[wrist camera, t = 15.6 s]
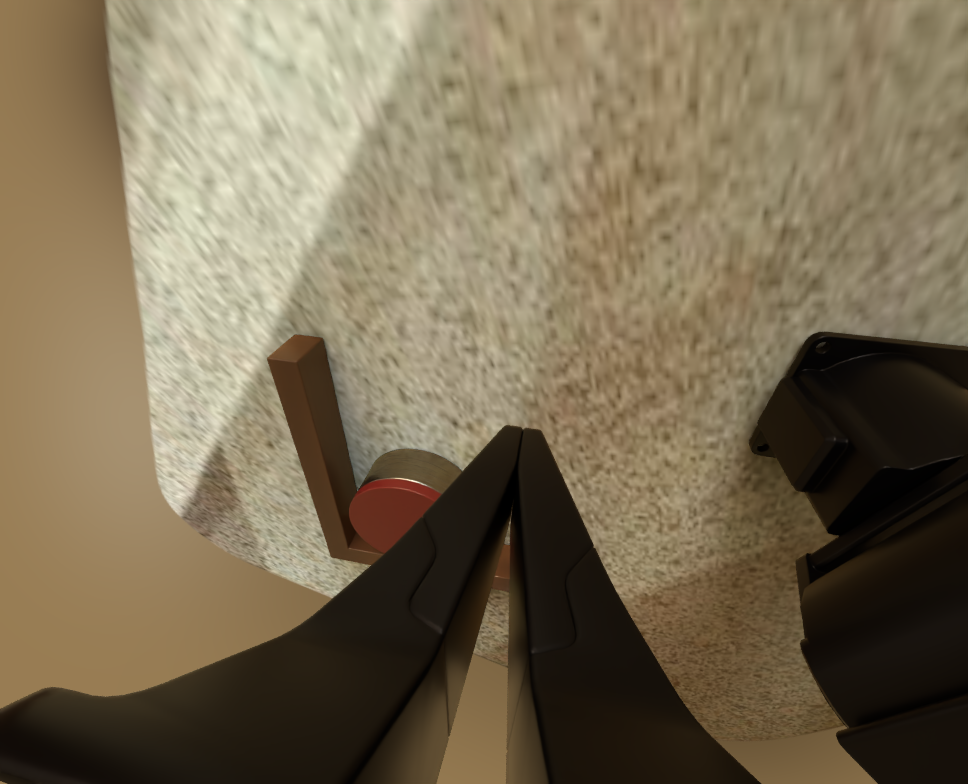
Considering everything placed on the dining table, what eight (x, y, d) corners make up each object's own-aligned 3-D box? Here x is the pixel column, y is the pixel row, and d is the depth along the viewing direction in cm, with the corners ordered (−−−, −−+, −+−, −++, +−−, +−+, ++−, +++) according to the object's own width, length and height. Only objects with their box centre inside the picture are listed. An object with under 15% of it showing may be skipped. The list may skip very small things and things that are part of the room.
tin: (475, 456, 24) (463, 498, 22) (474, 529, 28) (464, 572, 26) (362, 440, 25) (337, 479, 23) (377, 513, 29) (358, 553, 27)
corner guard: (598, 371, 19) (601, 402, 17) (552, 565, 29) (550, 600, 27) (294, 333, 21) (265, 357, 19) (346, 528, 31) (330, 557, 29)
